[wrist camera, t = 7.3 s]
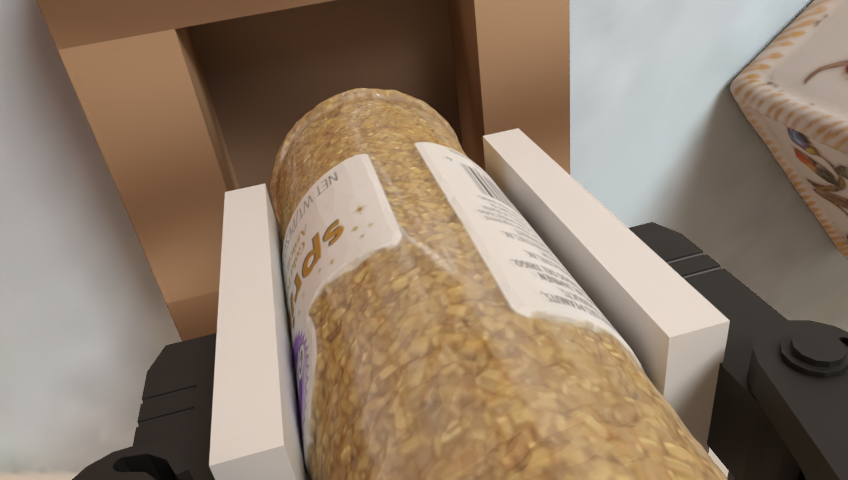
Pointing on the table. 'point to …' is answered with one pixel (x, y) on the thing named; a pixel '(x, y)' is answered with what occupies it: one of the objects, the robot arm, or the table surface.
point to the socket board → (285, 98)
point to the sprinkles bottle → (447, 319)
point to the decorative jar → (806, 109)
